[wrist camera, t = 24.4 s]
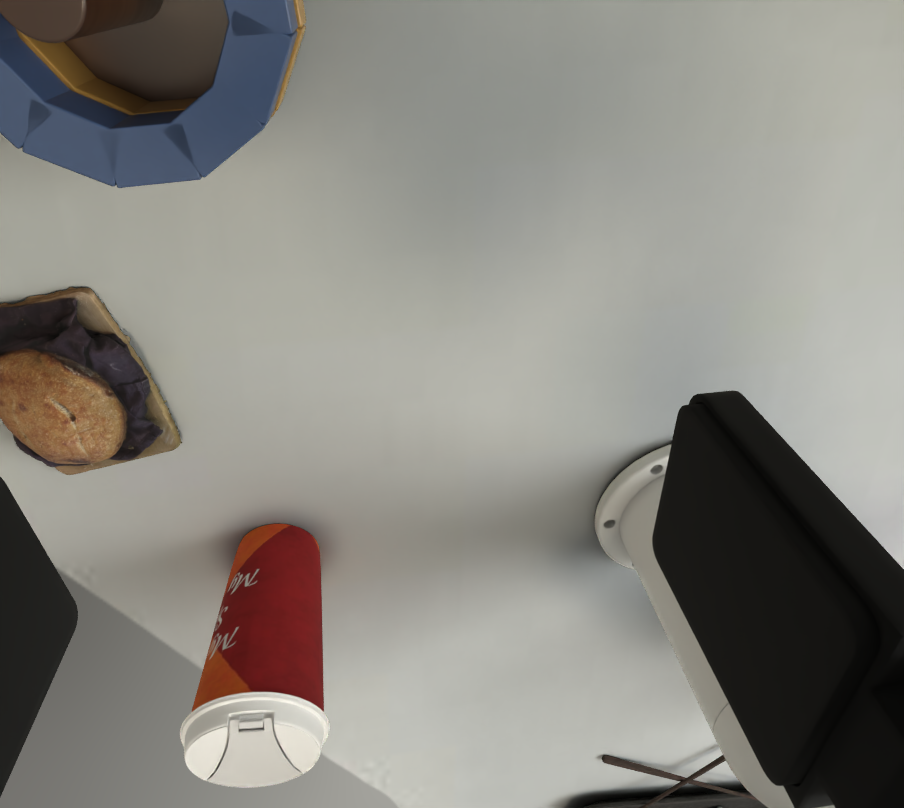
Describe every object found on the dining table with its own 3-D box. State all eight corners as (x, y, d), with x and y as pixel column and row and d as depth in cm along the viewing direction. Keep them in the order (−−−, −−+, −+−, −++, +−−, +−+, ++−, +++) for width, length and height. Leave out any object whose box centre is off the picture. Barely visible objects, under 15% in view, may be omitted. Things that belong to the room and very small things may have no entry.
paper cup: (217, 511, 41) (165, 722, 29) (336, 512, 42) (330, 713, 31) (225, 589, 45) (183, 799, 34) (333, 587, 46) (327, 788, 35)
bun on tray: (193, 439, 37) (180, 480, 34) (57, 471, 37) (31, 515, 34) (102, 279, 31) (76, 313, 28) (-63, 317, 31) (-106, 355, 28)
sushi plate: (542, 844, 80) (549, 879, 77) (612, 719, 63) (625, 757, 60) (741, 827, 86) (756, 859, 83) (853, 708, 69) (877, 743, 66)
